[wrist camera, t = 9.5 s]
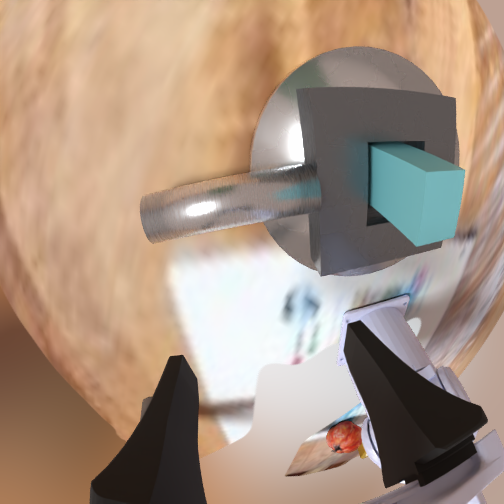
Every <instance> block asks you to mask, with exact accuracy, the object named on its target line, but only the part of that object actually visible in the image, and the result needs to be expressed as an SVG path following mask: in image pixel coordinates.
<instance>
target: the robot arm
mask: <svg viewBox="0 0 504 504" xmlns="http://www.w3.org/2000/svg"><path fill="white" fill-rule="evenodd" d="M409 299H410V297H409V296H408V295H404V296H401V297H397V298H394V299H391V300H388V301H384V302H381V303H377V304H374V305H370V306H367V307H363V308H360V309H356V310H352V311H349V312H346V313H345V314H344V315H343V321H342V329H341V337H340V344H339V351H338V358H337V365H338V366H341V365H344V364H345V365H346V367H347V370H348V372H349V375H350V377H351V380H352V382H353V385H354V387H355V390H356V393H357V395H358V398H359V400H360V402H361V403H362V405H363V406H364V407H365V408H366V409H365V410H366V413H367V416H368V417H367V418H366V419H365V420H364V422H363V425H362V430H361V438H362V443H363V446H364V449H365V451H366V453H367V455H368V456H369V458H370V459H371V460H372V461H373V462H374V463H375V464H376V465H378V466H379V467H380V468H381V469H382V475H383V482H384V485H385V488H388V487H390V486H393V485H395V484H397V483H405V484H406V485H405V486H403V487H400V488H398V489H396V490H393V491H391V492H389V493H386V494H384V495H382V496H379V497H377V498H374V499H371V500H369V501H366V502H363V503H360V504H487V503H486V501H485V498H484V496H483V494H482V490H483V489H484V488H485V487H487V486H488V485H489V484H490V483H491V482H492V481H493V480H494V479H495V478H497V477H498V476H499V475H500V474H501V473H502V472H503V471H504V448H503V446H502V443H501V441H500V438H499V436H498V434H497V432H496V430H495V429H494V430H492V431H491V432H490V433H489V434H487V435H486V436H485V437H483V438H482V439H481V440H479V441H478V442H476V443H473V441H474V439H475V437H476V435H477V433H478V430H479V429H480V428H481V427H482V426H484V425H485V424H486V423H487V422H488V419H487V417H486V415H485V413H484V411H483V409H482V408H481V406H479V405H476V404H473V403H471V401H470V399H469V397H468V395H467V393H466V392H465V390H464V388H463V386H462V384H461V383H460V381H459V380H458V378H457V376H456V375H455V373H454V372H453V371H452V369H451V368H450V367H444V366H441V367H440V368H438V369H436V368H435V367H434V365H433V364H432V362H431V360H430V358H429V357H428V355H427V353H426V352H425V350H424V348H423V347H422V345H421V344H420V342H419V340H418V339H417V337H416V336H415V334H414V333H413V331H412V329H411V328H410V326H409V325H408V323H407V322H406V320H405V319H404V316H405V313H406V309H407V306H408V303H409ZM198 411H199V394H198V382H197V378H196V376H195V374H194V373H193V371H192V369H191V368H190V366H189V364H188V362H187V361H186V359H185V357H184V356H183V355H178V356H170V357H169V359H168V361H167V364H166V366H165V369H164V371H163V374H162V376H161V379H160V381H159V383H158V386H157V388H156V390H155V392H154V395H153V397H152V399H151V401H150V403H149V405H148V407H147V409H146V411H145V413H144V415H143V417H142V418H141V420H140V422H139V424H138V425H137V427H136V429H135V430H134V432H133V434H132V435H131V437H130V438H129V439H128V441H127V442H126V444H125V446H124V447H123V448H122V449H121V451H120V452H119V453H118V454H117V455H116V457H115V458H114V459H113V460H112V461H111V462H110V464H109V465H108V466H107V467H106V468H105V469H104V470H103V471H102V472H101V473H100V474H99V475H98V476H97V477H96V478H95V479H94V480H92V482H91V488H90V504H207V502H206V498H205V493H204V488H203V483H202V477H201V470H200V463H199V454H198Z"/></svg>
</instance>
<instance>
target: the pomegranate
mask: <svg viewBox="0 0 504 504" xmlns="http://www.w3.org/2000/svg"><path fill="white" fill-rule="evenodd" d="M361 430H362V429H361V427H359V426H357V425H355V424H354V423H352V422H351V421H344V422H340V423H339V424H337V425H336V426H334V427H332V428H331V429H330V430H329V431H328V433H327V436H326V441H327V444H328V445H329V447H331V448H332V449H333V450H332V452H337V453H344V452H345V453H350V452H353V451H355V450H357V449H358V447H359V446H360V445H361V444H362V438H361Z"/></svg>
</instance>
